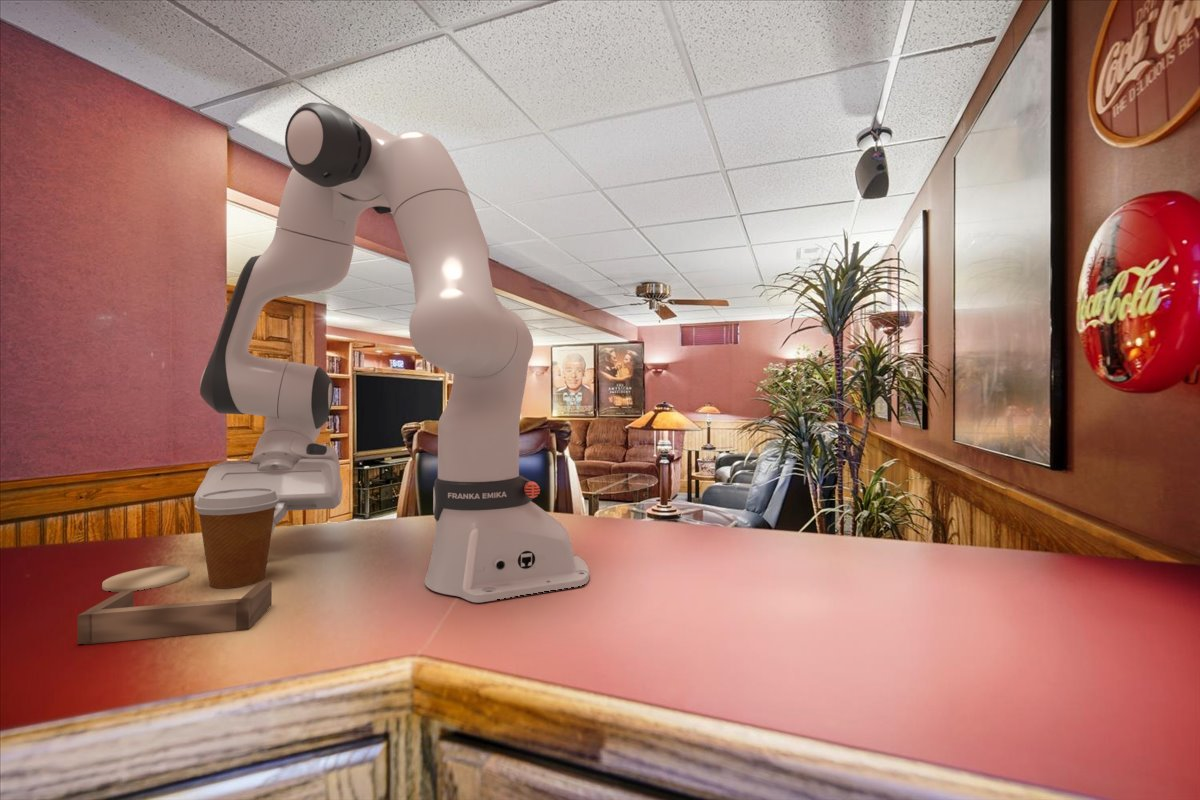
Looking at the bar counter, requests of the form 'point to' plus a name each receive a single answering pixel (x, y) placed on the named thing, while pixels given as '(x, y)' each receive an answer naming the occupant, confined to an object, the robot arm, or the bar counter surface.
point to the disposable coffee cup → (236, 534)
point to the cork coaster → (145, 578)
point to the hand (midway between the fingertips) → (260, 532)
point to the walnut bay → (170, 617)
